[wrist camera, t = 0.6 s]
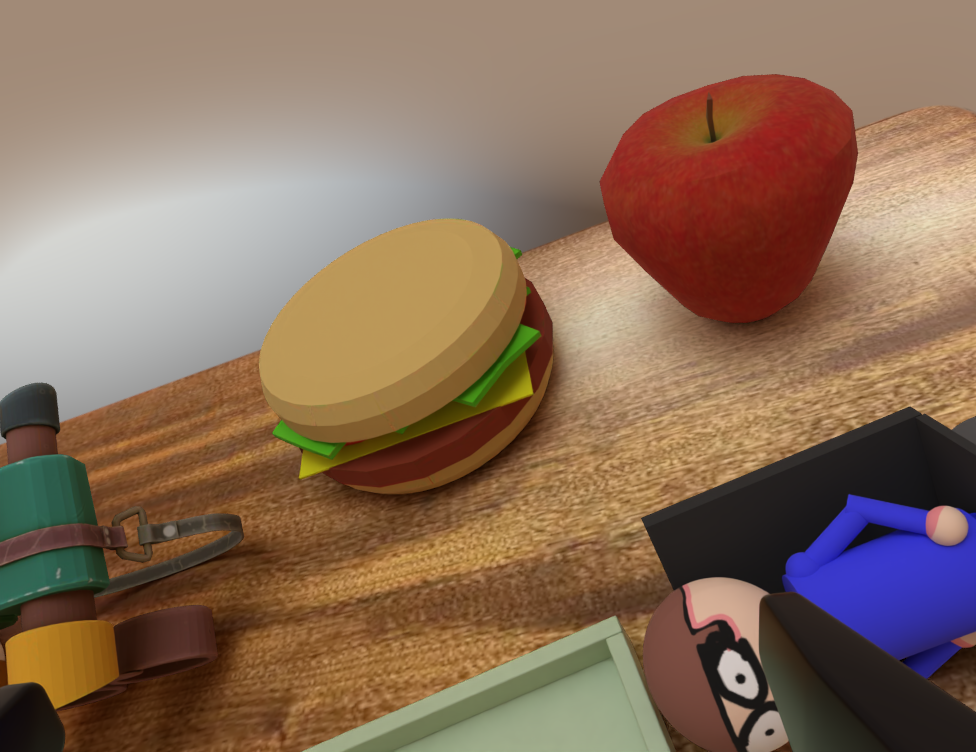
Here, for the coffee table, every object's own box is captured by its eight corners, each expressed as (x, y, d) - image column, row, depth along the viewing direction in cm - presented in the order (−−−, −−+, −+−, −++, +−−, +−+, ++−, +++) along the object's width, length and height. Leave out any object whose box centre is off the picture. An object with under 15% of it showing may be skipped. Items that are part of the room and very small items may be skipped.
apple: (868, 226, 38) (855, 1, 30) (861, 372, 32) (843, 134, 24) (666, 247, 44) (612, 62, 36) (626, 375, 37) (552, 183, 30)
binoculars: (96, 718, 40) (-226, 803, 26) (71, 485, 44) (-215, 451, 30) (310, 645, 37) (82, 696, 24) (261, 406, 42) (44, 330, 28)
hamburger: (306, 548, 38) (213, 460, 33) (331, 358, 50) (266, 272, 45) (592, 451, 35) (536, 336, 30) (544, 273, 47) (499, 170, 42)
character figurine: (1180, 647, 21) (704, 806, 23) (1006, 463, 26) (631, 605, 28) (1283, 522, 16) (652, 743, 18) (1038, 321, 21) (573, 510, 23)
